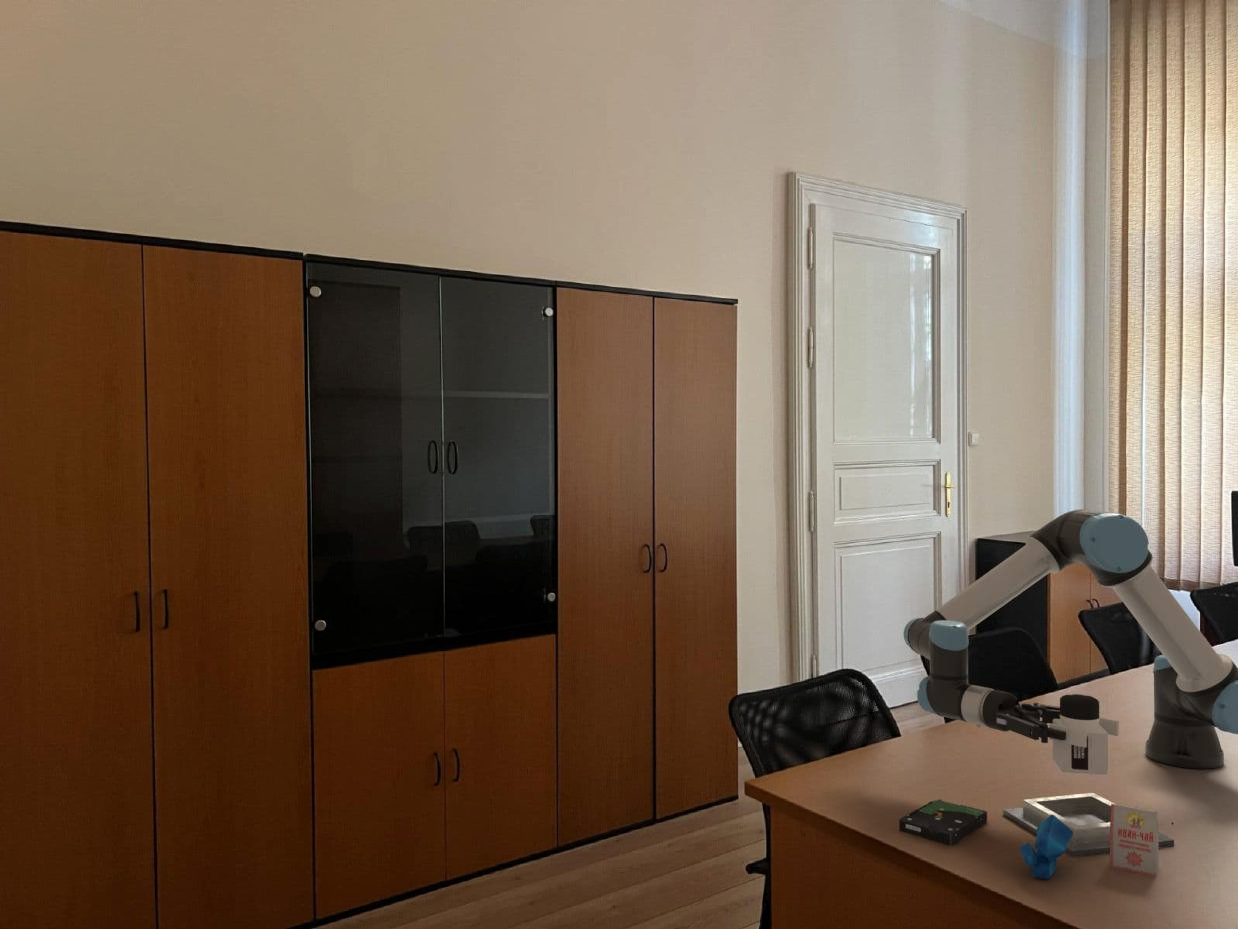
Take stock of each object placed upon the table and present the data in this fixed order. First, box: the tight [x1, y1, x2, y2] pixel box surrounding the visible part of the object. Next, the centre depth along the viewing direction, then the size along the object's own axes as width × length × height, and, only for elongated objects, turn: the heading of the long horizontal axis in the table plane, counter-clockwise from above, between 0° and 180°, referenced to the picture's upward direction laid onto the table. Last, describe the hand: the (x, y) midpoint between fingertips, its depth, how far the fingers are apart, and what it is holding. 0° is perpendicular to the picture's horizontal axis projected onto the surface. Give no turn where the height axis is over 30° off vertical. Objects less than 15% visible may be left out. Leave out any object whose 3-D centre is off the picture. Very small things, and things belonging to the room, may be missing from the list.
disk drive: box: [898, 798, 988, 847], centre depth 181 cm, size 10×3×15 cm
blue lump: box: [1019, 815, 1073, 881], centre depth 161 cm, size 7×9×12 cm
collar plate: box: [1002, 792, 1175, 858], centre depth 179 cm, size 20×20×4 cm
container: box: [1052, 693, 1109, 775], centre depth 180 cm, size 8×8×13 cm
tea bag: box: [1109, 803, 1160, 878], centre depth 162 cm, size 4×7×10 cm, turn 56°
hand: (1102, 734), depth 176 cm, fingers closed on container, 10 cm apart
